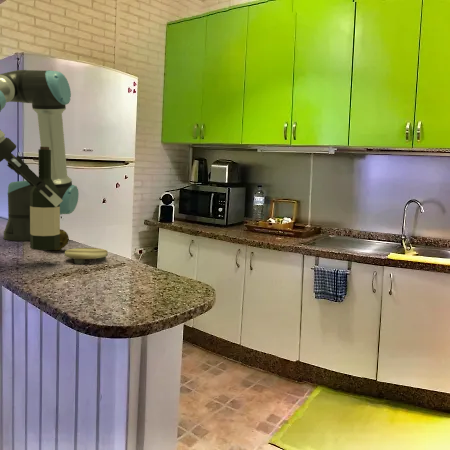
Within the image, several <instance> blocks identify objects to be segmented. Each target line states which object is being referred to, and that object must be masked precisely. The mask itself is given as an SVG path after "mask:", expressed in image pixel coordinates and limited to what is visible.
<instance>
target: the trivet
mask: <svg viewBox="0 0 450 450" xmlns="http://www.w3.org/2000/svg"><path fill="white" fill-rule="evenodd" d="M107 256H108V249H105V248H104V249H103V248H98V247H79V248H77V247H76V248H70V249H67V250H65V251H64V257H66V258H69V259H74V260H73V261H74V264H75V265H83V264H85V262H86V261H85V260H92V259H93V260H94V259H95V260H96V262H106V261H107Z"/></svg>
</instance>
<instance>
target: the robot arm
mask: <svg viewBox="0 0 450 450" xmlns="http://www.w3.org/2000/svg"><path fill="white" fill-rule="evenodd" d="M71 96H72V93H71V87H70V83H69V81H68V79H67V77H66V76H65V75H64V74H63V73H62V72H61V71H55V70H42V69H41V70H39V69H37V70H35V69H31V70H30V69H28V70H27V69H17V70H12V71H7V72H3V73H0V113H1V111H2V110H3V109H4V108H5V106H6V104H7V103H21V104H22V103H23V104H31V107H32V110H33V111H34V112H36V114H37V121H38V122H37V123H38V124H37V125H38V130H39V132H38V133H39V142H40V147H49V150H51V179H52V181H53V183H54V184H55V186H56V187H57V189H58V191H59V192H60V197H59V196H58V195H57V194H56V193H54V192H53V191H52V190H51V189H50V188H49V187H48V186H47V185H46V184H45V182H44V181H42V180H41V179H40V178H39V175H37V174H36V173H35V172H34V171H33V170H32V169H30V167H29V165H28V164H26V162H24V160H23V159H22V157H20V156H19V155H16V156H15V155H14V154H13V152H14V151H15V150H16V148H17V144H15V143H14V142H13V140H12V139H10V138H9V137H5V136H6V134H5V132H3V131H2V130H1V129H0V163H1V162H2V161H3V160H5V161H6V162H7V164H6V166H7V167H8V168H10V169H11V170H12V171H14V172H15V174H17V175H19V176H21V177H22V178H23V179H24V180H19V181H12V182H9V184H8V186H7V208H8V209H7V216H8V217H7V218H8V219H7V222H6V226H5V227H4V231H3V239H4V240H7V241H14V242H17V241H18V242H24V241H25V242H27V241H28V242H30V191H31V189H32V188H33V186H35V187H36V188H37V190H36V192H40V193H41V194H43V195H44V196H45V197H46V198H47V199H48V200H49V201H50V202H51V203H52V204H53V205H54V206H55V207H57V206H58V205H59V204H60V216H61V215H70V214H72V213H73V212H74V211H75V209H76V207H77V205H78V202H79V188H78V187H77V185H75V184H73V180H72V178H71V177H70V176H68V168H67V157H66V147H65V134H64V123H63V113H64V112H65V110H66V109H67V108H66V107H67V106H66V105H68V104H70V103H71V102H70V101H71Z"/></svg>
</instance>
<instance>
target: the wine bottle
mask: <svg viewBox="0 0 450 450" xmlns="http://www.w3.org/2000/svg"><path fill="white" fill-rule="evenodd" d="M38 177H39V178H40V179H41V180H42V181H44V182H45V184H46V185H47V186H48V187H49V188H50V189H51V190H52V191H53V192H54V193H56V194H57V195H58V196H59V197H60V192H59V191H58V189H57V187H56V186H55V184H54V183H53V181H52V179H51V150H49V147H41V146H39V149H38ZM36 190H37V188H36V187H35V186H33V188H32V189H31V191H30V241H29V242H30V243H29V244H30V245H29V246H30V249H31V250H35V251H50V250H51V251H55V250H54V249H57V248H60V229H61V217H60V216H61V215H60V204H59V205H58V206H57V207H55V206H54V205H53V204H52V203H51V202H50V201H49V200H48V199H47V198H46V197H45V196H44V195H43V194H41V193H40V192H36Z"/></svg>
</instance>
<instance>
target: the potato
mask: <svg viewBox="0 0 450 450" xmlns="http://www.w3.org/2000/svg"><path fill="white" fill-rule="evenodd" d="M69 238H70V237H69V234H68V233H67V232H66V231H65V230H64V229H61V228H60V248H57V249H54V250H53V251H59V250H62V249H63V248H65V247H66V246H67V245H68V243H69V241H70V240H69Z"/></svg>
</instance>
